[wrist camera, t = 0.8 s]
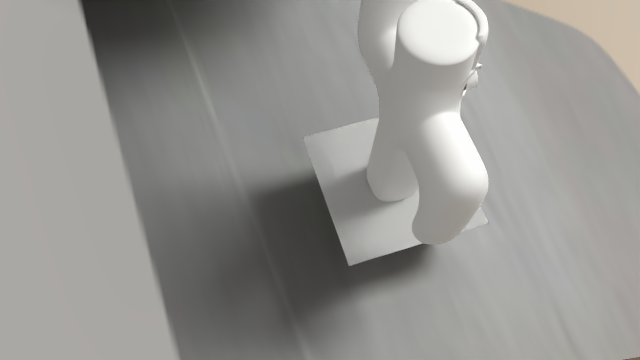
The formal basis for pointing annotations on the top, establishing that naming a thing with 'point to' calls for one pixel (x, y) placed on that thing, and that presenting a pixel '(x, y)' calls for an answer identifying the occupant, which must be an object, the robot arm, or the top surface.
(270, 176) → the top surface
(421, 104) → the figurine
